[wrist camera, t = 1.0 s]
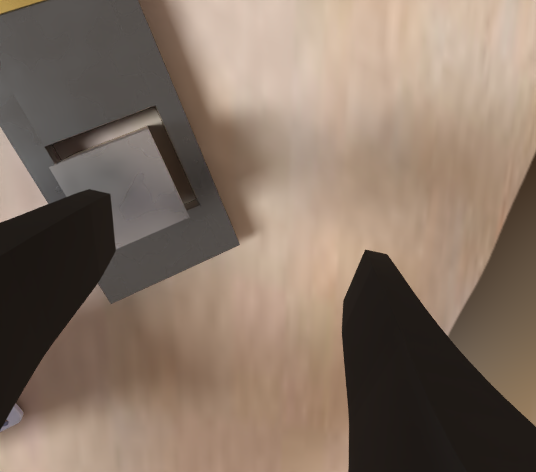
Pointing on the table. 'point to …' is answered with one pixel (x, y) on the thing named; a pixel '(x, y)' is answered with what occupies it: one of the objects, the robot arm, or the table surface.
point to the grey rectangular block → (126, 184)
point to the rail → (103, 118)
